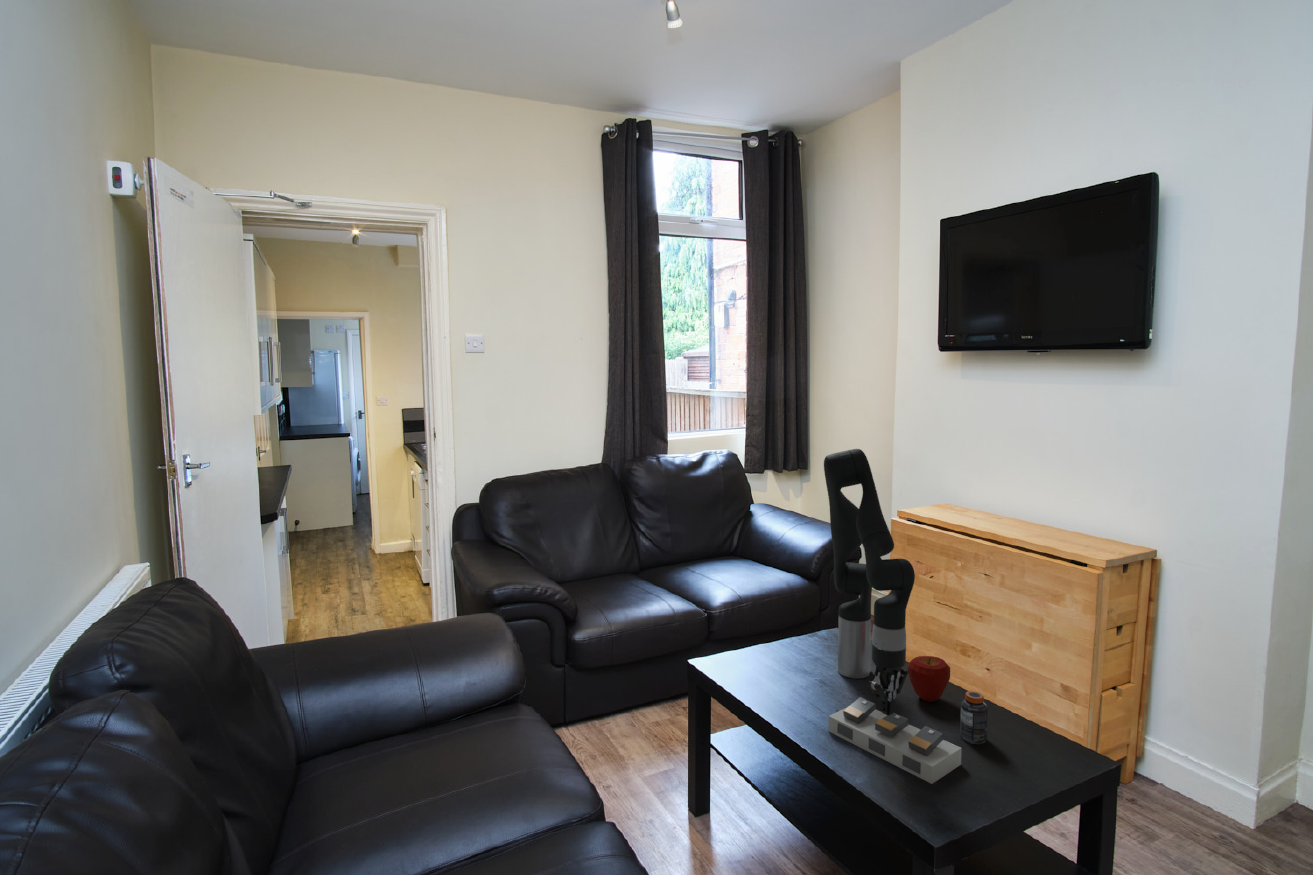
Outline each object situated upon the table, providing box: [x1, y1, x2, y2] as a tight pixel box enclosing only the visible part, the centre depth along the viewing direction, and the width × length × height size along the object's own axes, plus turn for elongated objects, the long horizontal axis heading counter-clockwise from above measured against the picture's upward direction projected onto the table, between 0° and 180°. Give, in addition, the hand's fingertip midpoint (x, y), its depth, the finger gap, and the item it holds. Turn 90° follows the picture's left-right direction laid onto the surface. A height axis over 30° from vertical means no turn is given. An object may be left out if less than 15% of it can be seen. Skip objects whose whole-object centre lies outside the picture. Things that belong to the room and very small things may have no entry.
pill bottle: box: [959, 690, 989, 745], centre depth 166 cm, size 6×6×11 cm
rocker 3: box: [908, 725, 944, 756], centre depth 156 cm, size 7×4×2 cm, turn 127°
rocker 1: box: [843, 696, 877, 724], centre depth 170 cm, size 7×4×2 cm, turn 127°
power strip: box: [828, 707, 962, 785], centre depth 164 cm, size 12×30×4 cm, turn 37°
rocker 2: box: [875, 711, 910, 737], centre depth 163 cm, size 7×4×2 cm, turn 127°
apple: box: [907, 655, 951, 703], centre depth 187 cm, size 11×11×12 cm
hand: (887, 713), depth 161 cm, fingers closed
